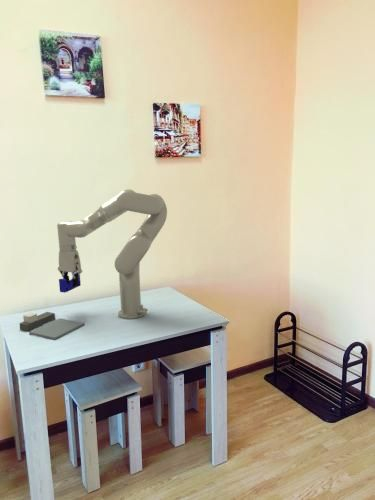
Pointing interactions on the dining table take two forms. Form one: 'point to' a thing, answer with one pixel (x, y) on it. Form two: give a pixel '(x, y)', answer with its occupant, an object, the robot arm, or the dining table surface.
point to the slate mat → (57, 328)
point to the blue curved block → (67, 284)
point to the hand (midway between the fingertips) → (71, 284)
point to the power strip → (36, 320)
